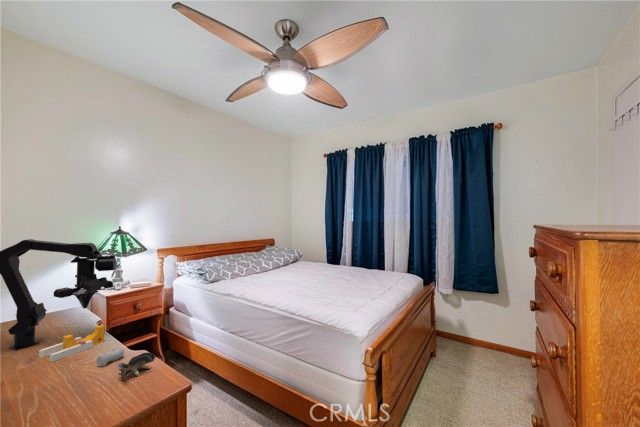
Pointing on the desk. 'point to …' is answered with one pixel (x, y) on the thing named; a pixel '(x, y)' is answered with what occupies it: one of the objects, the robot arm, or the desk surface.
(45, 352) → the guide channel
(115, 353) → the smooth white sculpture
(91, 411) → the desk surface
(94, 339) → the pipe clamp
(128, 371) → the dark grey animal figurine
